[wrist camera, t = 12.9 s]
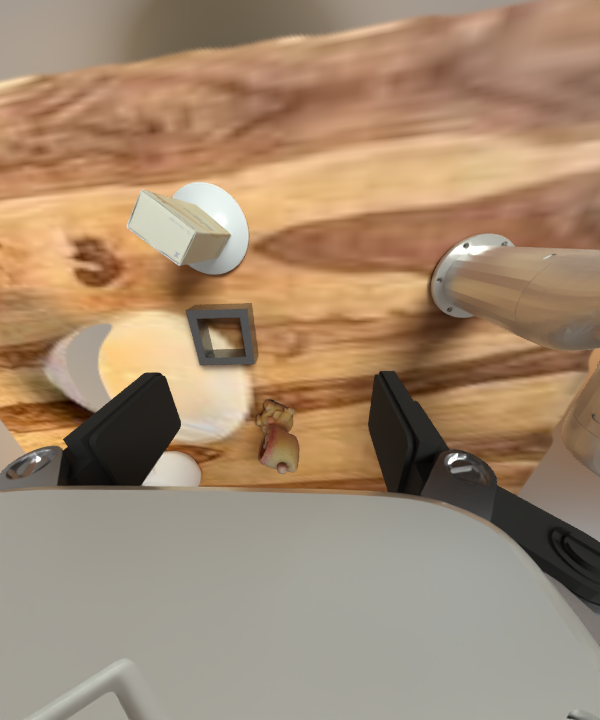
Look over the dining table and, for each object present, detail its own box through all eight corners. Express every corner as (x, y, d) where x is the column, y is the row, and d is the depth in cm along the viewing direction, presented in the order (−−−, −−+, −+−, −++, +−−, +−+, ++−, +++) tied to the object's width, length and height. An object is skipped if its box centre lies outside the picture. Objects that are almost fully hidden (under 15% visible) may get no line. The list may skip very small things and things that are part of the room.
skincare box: (232, 234, 35) (199, 232, 24) (217, 259, 37) (180, 268, 26) (194, 202, 33) (140, 185, 23) (180, 230, 35) (124, 227, 24)
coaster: (243, 181, 33) (241, 180, 32) (253, 272, 38) (252, 273, 38) (159, 185, 33) (155, 184, 32) (181, 275, 39) (178, 275, 38)
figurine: (266, 391, 49) (274, 452, 37) (298, 398, 52) (315, 458, 40) (250, 423, 53) (252, 488, 41) (280, 429, 56) (290, 491, 44)
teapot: (135, 436, 56) (99, 477, 46) (189, 431, 55) (165, 472, 45) (171, 494, 66) (148, 538, 56) (218, 491, 65) (202, 534, 55)
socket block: (251, 303, 41) (247, 308, 38) (258, 355, 45) (255, 363, 42) (194, 305, 41) (185, 310, 38) (207, 356, 46) (200, 365, 43)
